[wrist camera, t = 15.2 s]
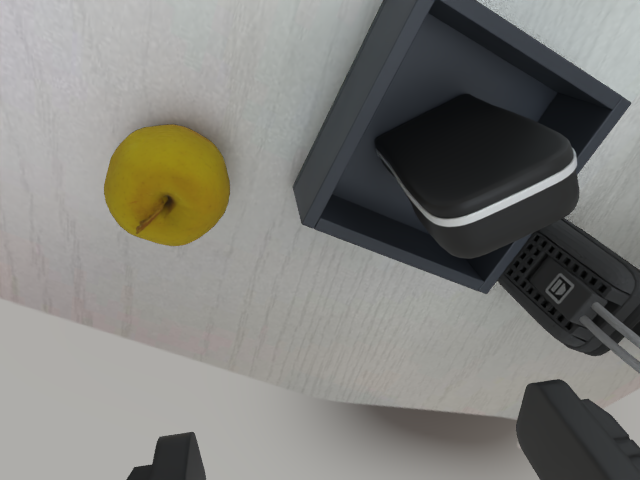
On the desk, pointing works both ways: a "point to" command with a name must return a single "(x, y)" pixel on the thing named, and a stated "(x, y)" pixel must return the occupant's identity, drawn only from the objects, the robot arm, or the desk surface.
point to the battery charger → (481, 174)
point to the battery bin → (423, 96)
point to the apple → (167, 185)
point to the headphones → (577, 290)
